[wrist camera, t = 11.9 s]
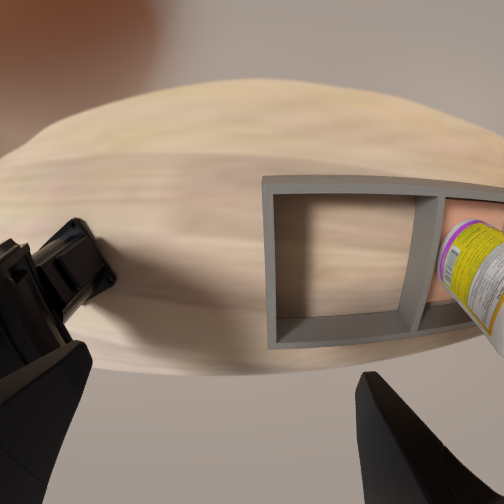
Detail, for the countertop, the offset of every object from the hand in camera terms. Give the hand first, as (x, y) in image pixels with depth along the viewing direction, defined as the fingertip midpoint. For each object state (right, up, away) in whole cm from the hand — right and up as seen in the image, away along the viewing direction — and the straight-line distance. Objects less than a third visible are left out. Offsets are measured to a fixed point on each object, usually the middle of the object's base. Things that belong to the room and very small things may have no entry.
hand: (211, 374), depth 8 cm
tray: (+14, +3, +12) cm, 18 cm away
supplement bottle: (+19, +4, +11) cm, 22 cm away
